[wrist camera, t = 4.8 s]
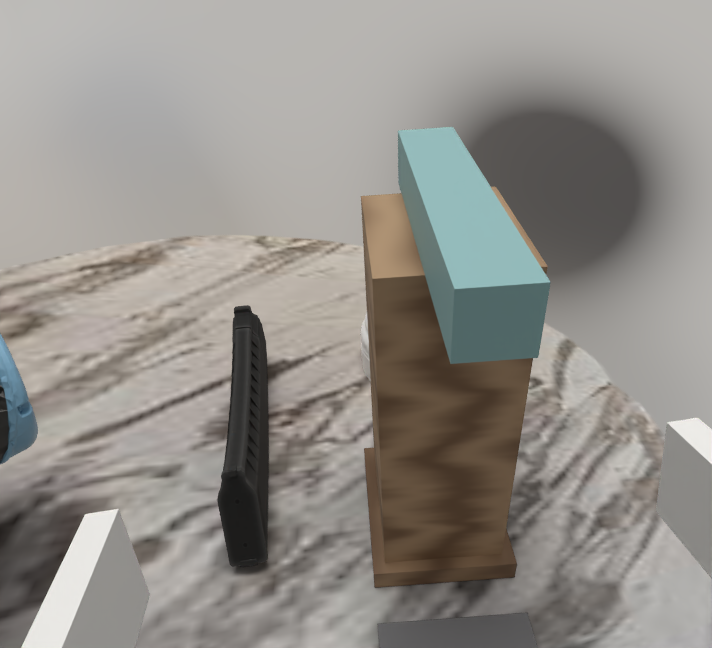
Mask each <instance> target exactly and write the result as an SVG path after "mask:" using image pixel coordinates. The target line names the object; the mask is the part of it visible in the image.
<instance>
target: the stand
mask: <svg viewBox="0 0 712 648" xmlns="http://www.w3.org/2000/svg"><path fill="white" fill-rule="evenodd" d="M491 189H492V190H493V192H494V193H495V195H496V196H497V198H498V200H499V201H500V203H501V204H502V206H503V208H504V209H505V211H506V212H507V214H508V216H509V217H510V219H511V220H512V222H513V223H514V225H515V227H516V228H517V230H518V231H519V233H520V235H521V236H522V238H523V239H524V241H525V243H526V244H527V246H528V247H529V249H530V250H531V252H532V254H533V255H534V257H535V258H536V260H537V262H538V263H539V265H540V266H541V268H542V270H543V271H544V273H545V274H546V272H547V265H546V263H545V262H544V261H543V259H542V257H541V256H540V254H539V253H538V251H537V250H536V248H535V247H534V245H533V243H532V242H531V240H530V239H529V237H528V236H527V234H526V233H525V231H524V230H523V228H522V227H521V225H520V223H519V222H518V221H517V219H516V218H515V216H514V214H513V213H512V211H511V210H510V208H509V206H508V205H507V204H506V202H505V200H504V199H503V197H502V196H501V194H500V193H499V191H498V190H497V188H496V187H491ZM361 205H362V223H363V243H364V262H365V281H366V301H367V320H368V339H369V358H370V378H371V397H372V416H373V435H374V448H364V453H365V467H366V480H367V493H368V506H369V519H370V532H371V545H372V558H373V571H374V584H375V587H389V586H402V585H416V584H429V583H443V582H456V581H470V580H483V579H497V578H510V577H515V571H516V566H517V562H516V559H515V556H514V552H513V549H512V546H511V542H510V539H509V536H508V533H507V529H506V525H507V519H508V513H509V506H510V500H511V494H512V487H513V481H514V475H515V468H516V462H517V456H518V450H519V443H520V437H521V431H522V424H523V418H524V412H525V405H526V399H527V393H528V386H529V380H530V374H531V367H532V361H533V358H527V359H513V360H499V361H485V362H471V363H457V364H450V361H449V357H448V354H447V350H446V347H445V343H444V340H443V336H442V333H441V329H440V326H439V322H438V319H437V315H436V312H435V308H434V305H433V301H432V298H431V294H430V291H429V287H428V284H427V280H426V277H425V273H424V270H423V267H422V263H421V260H420V256H419V253H418V249H417V246H416V242H415V239H414V235H413V232H412V228H411V225H410V221H409V218H408V214H407V211H406V207H405V204H404V200H403V197H402V193H400V194H386V195H371V196H361Z"/></svg>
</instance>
